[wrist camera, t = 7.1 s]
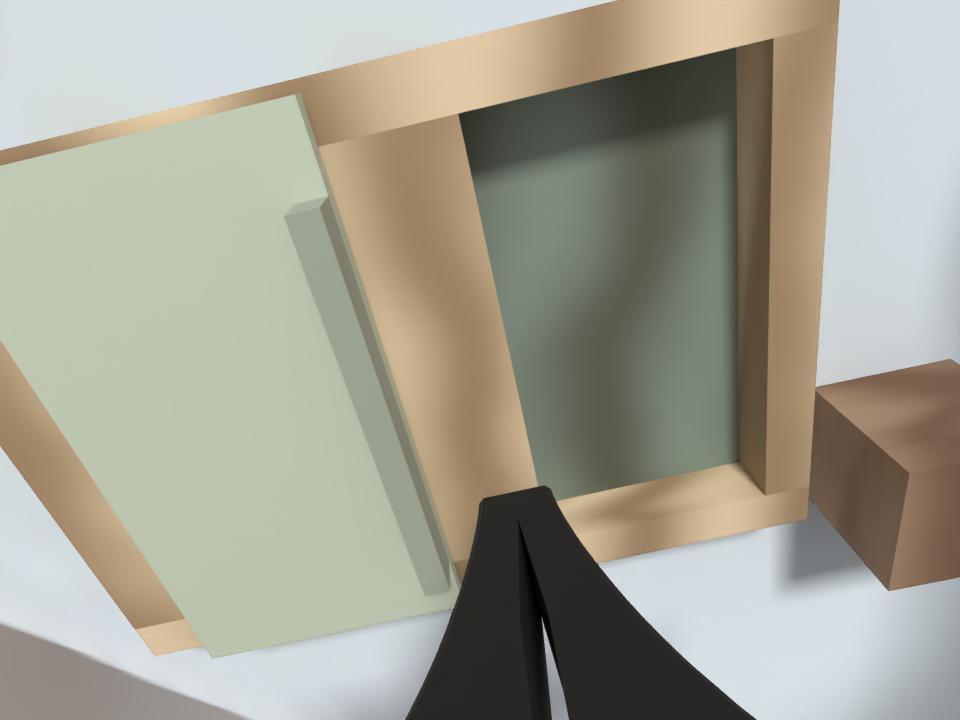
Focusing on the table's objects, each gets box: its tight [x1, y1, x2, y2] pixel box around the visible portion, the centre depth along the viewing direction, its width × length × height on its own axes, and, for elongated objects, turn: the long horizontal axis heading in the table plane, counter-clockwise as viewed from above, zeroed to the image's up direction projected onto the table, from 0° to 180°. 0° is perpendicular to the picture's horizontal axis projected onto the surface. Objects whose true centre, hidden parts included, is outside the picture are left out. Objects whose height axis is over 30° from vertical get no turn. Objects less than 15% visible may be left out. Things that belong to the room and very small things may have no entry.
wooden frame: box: [0, 0, 840, 656], centre depth 18 cm, size 24×17×3 cm
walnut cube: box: [809, 359, 960, 591], centre depth 20 cm, size 5×5×5 cm
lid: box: [0, 93, 461, 659], centre depth 16 cm, size 9×16×2 cm, turn 12°
